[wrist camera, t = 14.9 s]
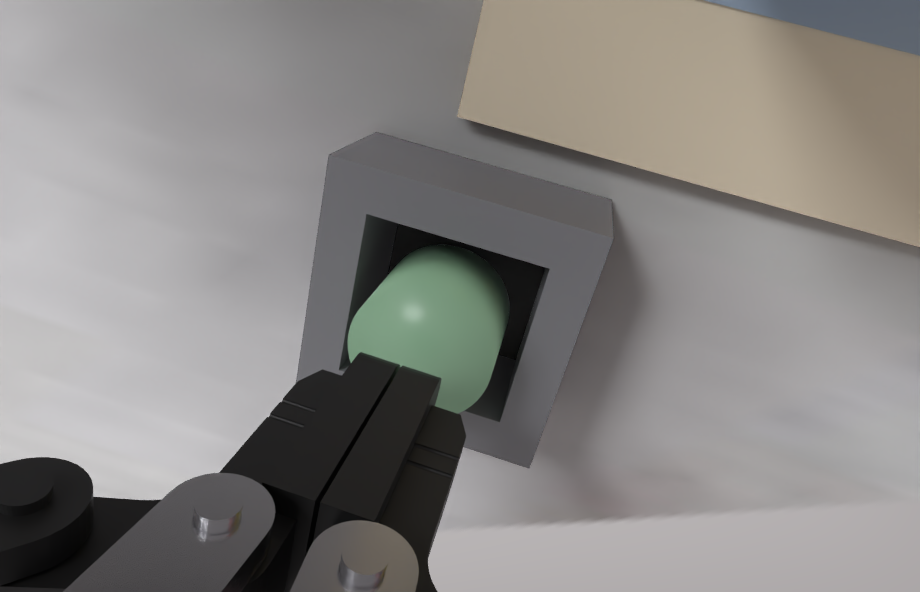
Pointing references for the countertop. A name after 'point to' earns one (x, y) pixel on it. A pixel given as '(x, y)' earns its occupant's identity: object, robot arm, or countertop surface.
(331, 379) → the robot arm
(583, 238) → the button housing
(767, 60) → the pad
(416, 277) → the button
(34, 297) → the countertop surface
